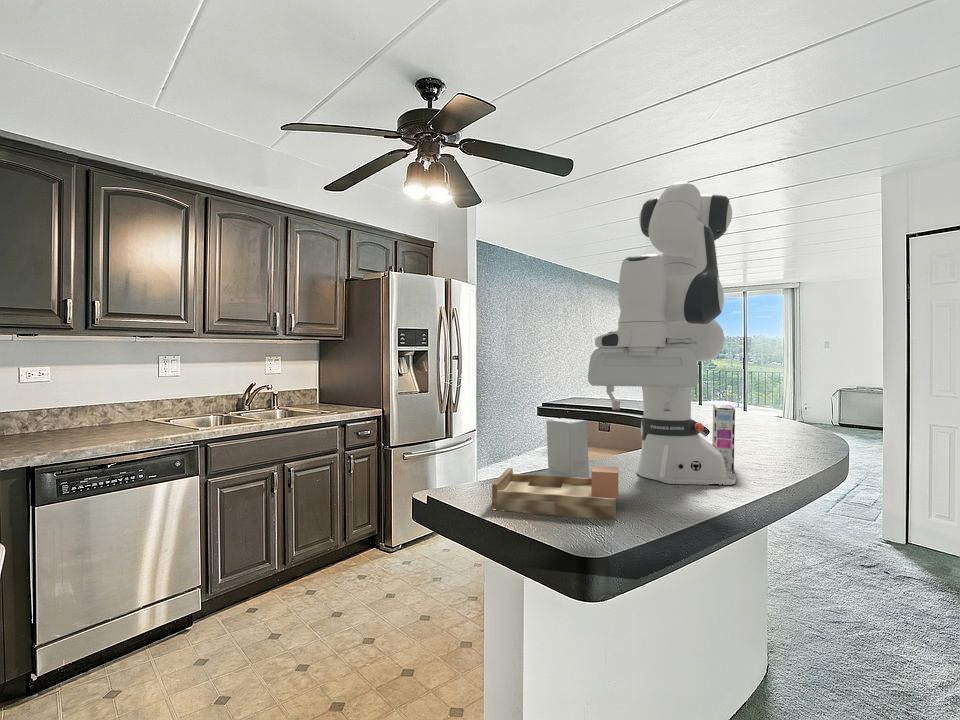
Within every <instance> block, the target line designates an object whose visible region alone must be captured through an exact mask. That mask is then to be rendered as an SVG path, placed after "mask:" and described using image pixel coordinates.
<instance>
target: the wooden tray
mask: <svg viewBox="0 0 960 720" xmlns="http://www.w3.org/2000/svg"><path fill="white" fill-rule="evenodd" d="M513 471H514V470H513V467H507V469H505V470H504V472H502V474H500V476H499V477H497V479H496V480H495V481H494V482H493V483H492V484H491V488H492V489H491V499H492V500H491V510H492V509H496V510H504V511H503V512H507V511H514V512H513V513H520V512H523V514H535V515H546V516H548V515H549V516H561V517H568V518H569V517H572V518H583V519H584V518H585V519H595V520H605V521H606V520H608V521H616V518H617V517H616V515H617V514H616V513H617V511H616V510H617V509H616V508H617V506H616V505H617V499H616V498H602V497H592V477H591V478H590V477H589V478H578V477H562V476H549V475H545V474H543V475H542V474H541V475H540V474H529V473H528V474H526V473H513Z"/></svg>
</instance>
